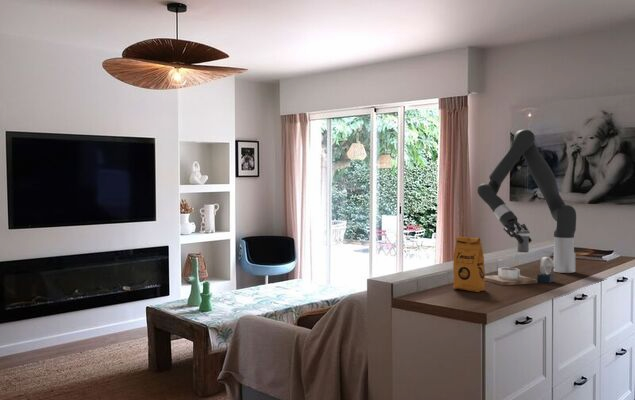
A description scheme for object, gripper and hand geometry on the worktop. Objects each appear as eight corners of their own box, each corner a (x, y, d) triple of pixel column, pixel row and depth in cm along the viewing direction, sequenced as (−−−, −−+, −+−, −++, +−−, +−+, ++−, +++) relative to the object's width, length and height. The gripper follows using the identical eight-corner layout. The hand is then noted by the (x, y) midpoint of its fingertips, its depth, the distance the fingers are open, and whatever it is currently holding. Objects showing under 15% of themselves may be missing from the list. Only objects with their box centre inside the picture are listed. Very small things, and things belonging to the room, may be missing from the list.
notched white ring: (511, 275, 264) (511, 267, 264) (523, 279, 255) (523, 270, 255) (494, 276, 261) (494, 268, 261) (506, 280, 253) (506, 271, 252)
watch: (555, 280, 259) (555, 256, 258) (548, 283, 253) (548, 258, 253) (542, 279, 263) (543, 255, 262) (535, 281, 257) (535, 257, 256)
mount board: (514, 277, 269) (514, 274, 269) (537, 283, 253) (537, 279, 253) (481, 279, 263) (481, 276, 263) (502, 285, 248) (502, 282, 248)
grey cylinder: (524, 250, 275) (524, 230, 275) (531, 252, 270) (531, 230, 270) (515, 251, 274) (515, 230, 273) (522, 252, 269) (522, 231, 268)
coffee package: (476, 293, 230) (476, 239, 230) (449, 289, 239) (449, 236, 239) (489, 290, 237) (489, 237, 237) (462, 286, 246) (462, 235, 246)
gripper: (500, 211, 274) (521, 238, 264) (519, 209, 282) (540, 236, 272) (491, 221, 279) (511, 248, 269) (510, 220, 286) (531, 246, 276)
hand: (526, 242), depth 270 cm, fingers closed on grey cylinder, 5 cm apart
